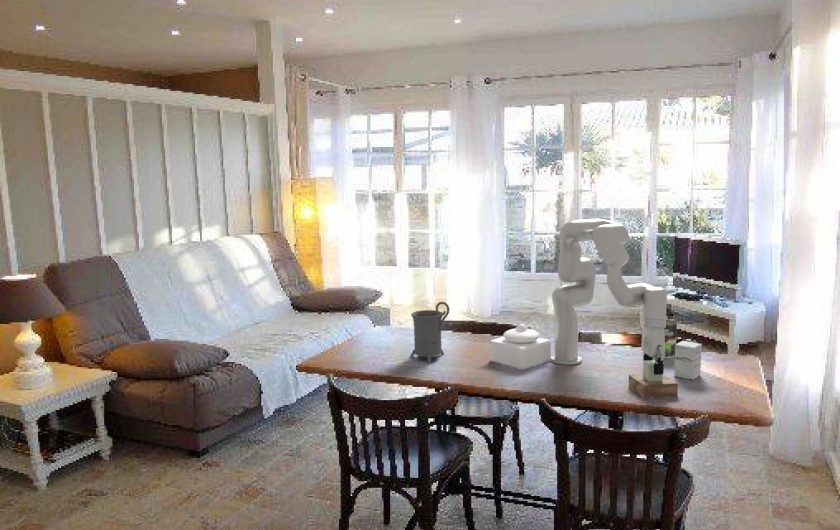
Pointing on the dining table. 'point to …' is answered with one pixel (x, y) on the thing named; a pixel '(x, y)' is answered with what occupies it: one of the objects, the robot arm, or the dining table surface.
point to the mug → (428, 331)
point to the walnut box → (653, 386)
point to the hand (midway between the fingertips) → (653, 370)
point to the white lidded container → (520, 348)
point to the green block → (650, 371)
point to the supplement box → (687, 360)
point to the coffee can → (670, 338)
